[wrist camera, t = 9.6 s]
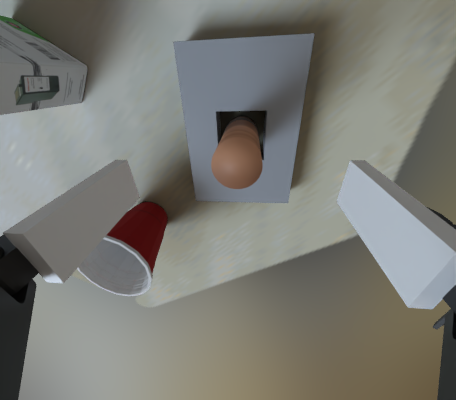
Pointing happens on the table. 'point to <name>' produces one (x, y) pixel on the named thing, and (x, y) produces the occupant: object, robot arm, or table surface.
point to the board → (244, 106)
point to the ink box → (36, 71)
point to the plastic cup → (128, 252)
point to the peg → (238, 155)
